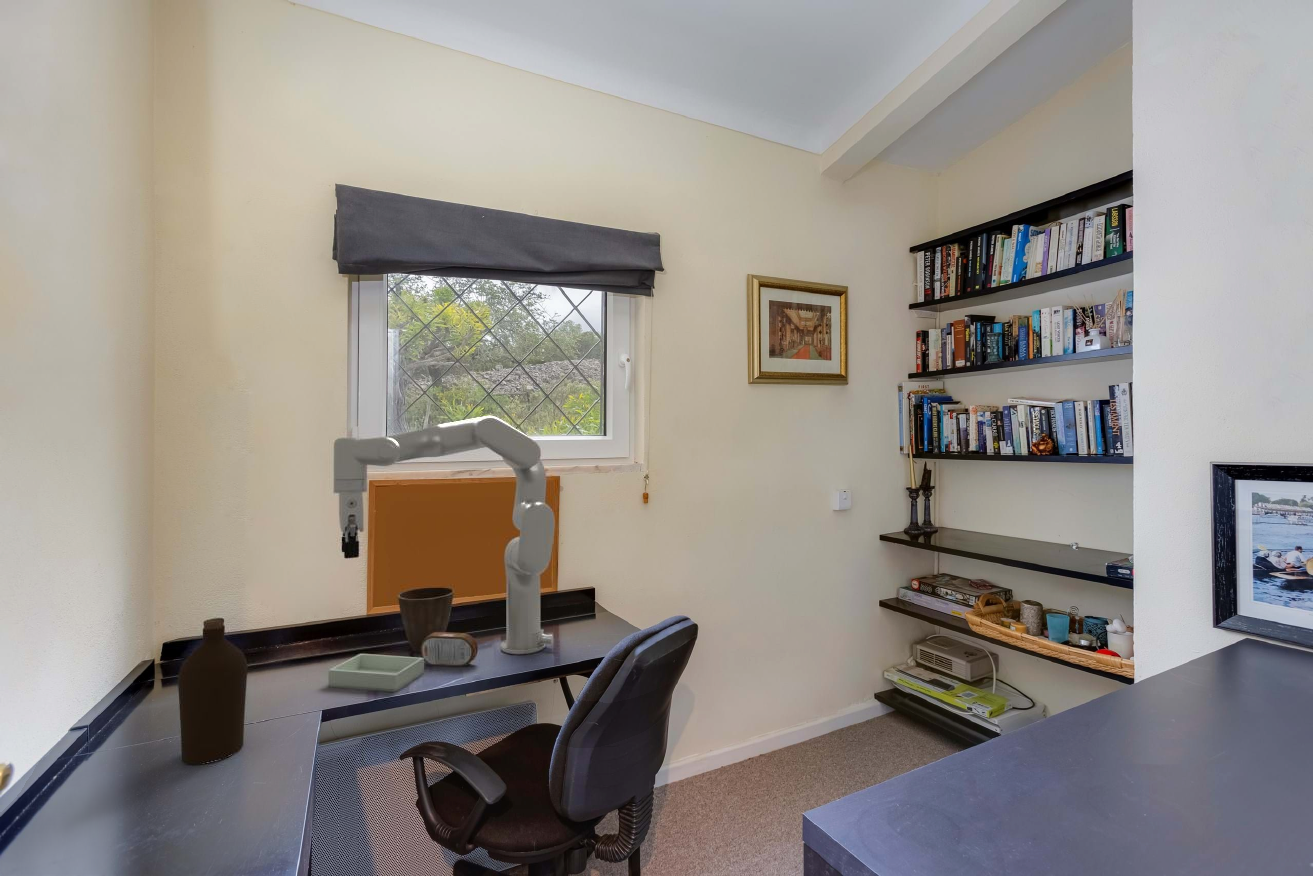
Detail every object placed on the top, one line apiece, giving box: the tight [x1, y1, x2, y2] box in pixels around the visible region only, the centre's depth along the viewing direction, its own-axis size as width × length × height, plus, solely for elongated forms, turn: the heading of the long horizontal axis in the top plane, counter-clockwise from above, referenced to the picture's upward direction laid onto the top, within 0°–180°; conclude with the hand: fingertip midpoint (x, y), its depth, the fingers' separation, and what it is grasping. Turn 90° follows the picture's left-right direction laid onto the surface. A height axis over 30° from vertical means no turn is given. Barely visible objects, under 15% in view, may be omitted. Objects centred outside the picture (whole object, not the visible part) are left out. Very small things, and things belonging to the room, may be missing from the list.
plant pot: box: [397, 586, 455, 654], centre depth 171 cm, size 15×15×16 cm
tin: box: [419, 631, 479, 668], centre depth 158 cm, size 15×3×8 cm, turn 84°
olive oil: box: [177, 617, 249, 766], centre depth 114 cm, size 11×11×25 cm
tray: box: [327, 653, 425, 693], centre depth 148 cm, size 18×12×4 cm, turn 79°
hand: (350, 554), depth 151 cm, fingers open, 9 cm apart
